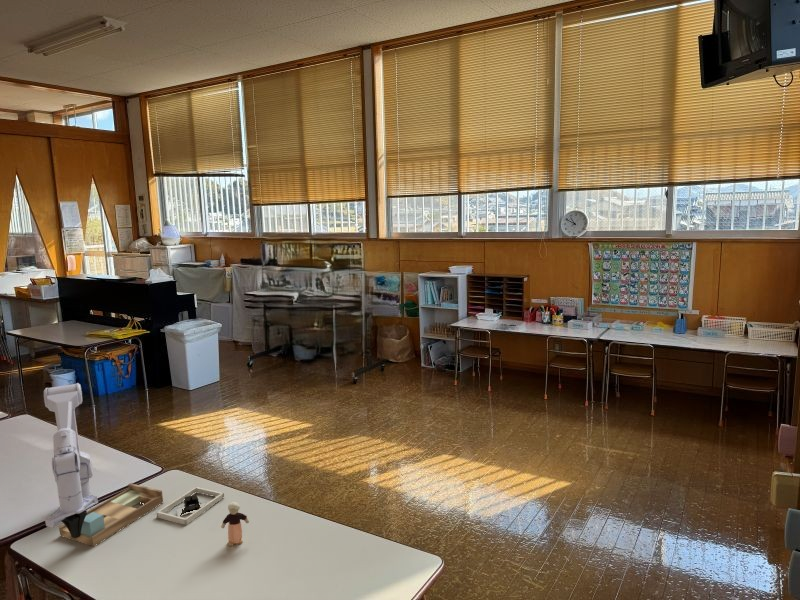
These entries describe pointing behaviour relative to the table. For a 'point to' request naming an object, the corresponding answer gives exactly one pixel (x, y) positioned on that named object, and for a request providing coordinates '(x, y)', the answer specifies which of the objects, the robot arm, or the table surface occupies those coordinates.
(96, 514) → the teal block
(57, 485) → the robot arm
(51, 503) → the table surface
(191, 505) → the black angular piece
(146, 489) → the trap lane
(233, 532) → the grandmother figurine
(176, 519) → the frame
